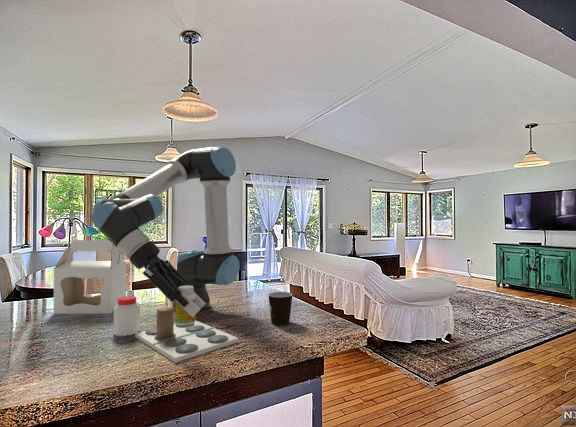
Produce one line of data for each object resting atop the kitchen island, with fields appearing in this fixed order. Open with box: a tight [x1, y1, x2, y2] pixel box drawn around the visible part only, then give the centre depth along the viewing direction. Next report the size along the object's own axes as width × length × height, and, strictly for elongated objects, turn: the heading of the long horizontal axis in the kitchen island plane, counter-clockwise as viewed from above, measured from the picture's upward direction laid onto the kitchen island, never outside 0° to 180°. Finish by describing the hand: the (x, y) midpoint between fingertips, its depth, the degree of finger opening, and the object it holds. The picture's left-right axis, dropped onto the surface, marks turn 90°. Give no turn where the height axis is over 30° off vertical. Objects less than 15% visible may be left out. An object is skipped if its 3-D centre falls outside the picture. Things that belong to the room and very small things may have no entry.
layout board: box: [134, 306, 239, 363], centre depth 102 cm, size 26×20×10 cm
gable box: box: [53, 239, 127, 315], centre depth 135 cm, size 22×13×28 cm, turn 92°
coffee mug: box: [267, 291, 293, 327], centre depth 120 cm, size 12×9×10 cm
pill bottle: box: [112, 295, 141, 337], centre depth 109 cm, size 8×8×11 cm
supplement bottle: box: [174, 285, 197, 325], centre depth 91 cm, size 5×5×10 cm
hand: (199, 310), depth 91 cm, fingers closed on supplement bottle, 5 cm apart
